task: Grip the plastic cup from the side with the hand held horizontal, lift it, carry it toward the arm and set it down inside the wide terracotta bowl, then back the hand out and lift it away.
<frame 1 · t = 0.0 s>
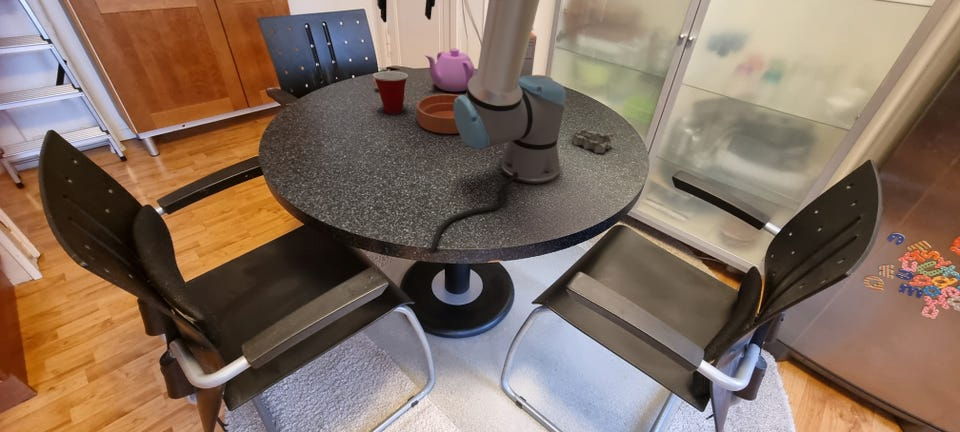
hand: (406, 18, 108), 28 cm above the table, tool tilted 20°, fingers open, 13 cm apart
bowl: (448, 121, 119), on the table
coffee mug: (536, 106, 134), on the table
teapot: (449, 88, 144), on the table
plastic cup: (394, 110, 124), on the table
garlic bulb: (383, 90, 139), on the table
egg carton: (589, 145, 111), on the table
cracker box: (517, 89, 147), on the table
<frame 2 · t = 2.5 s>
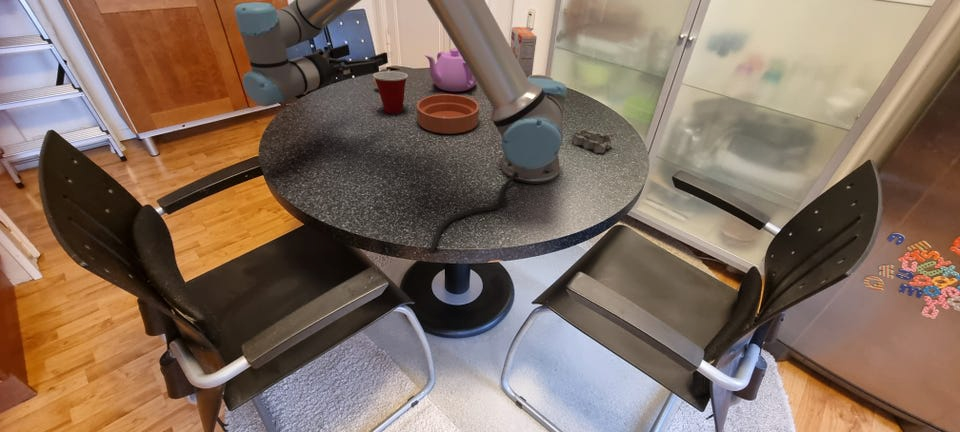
hand: (367, 53, 105), 20 cm above the table, tool horizontal, fingers open, 13 cm apart
nothing on the table moved.
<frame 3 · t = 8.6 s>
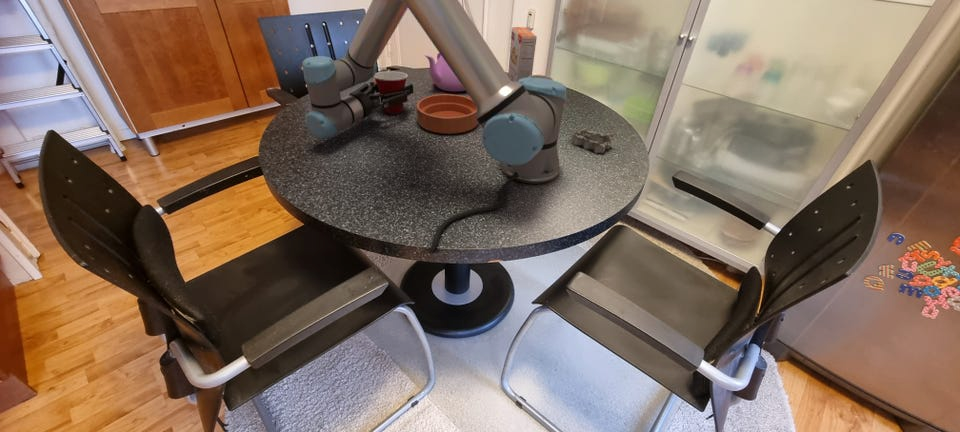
hand: (400, 85, 123), 7 cm above the table, tool horizontal, fingers closed on plastic cup, 9 cm apart
plastic cup: (394, 110, 124), on the table, touching gripper
everything else where it was.
when the fingers open (8 cm above the table, at t = 17.8 s): plastic cup stays where it is, resting on bowl.
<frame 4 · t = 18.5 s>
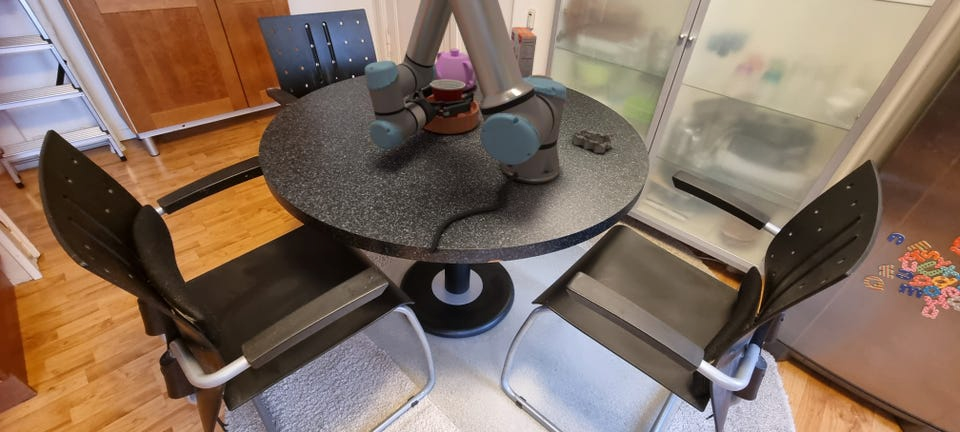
hand: (453, 92, 116), 9 cm above the table, tool horizontal, fingers open, 13 cm apart
plastic cup: (447, 120, 119), resting on bowl
everything else where it was.
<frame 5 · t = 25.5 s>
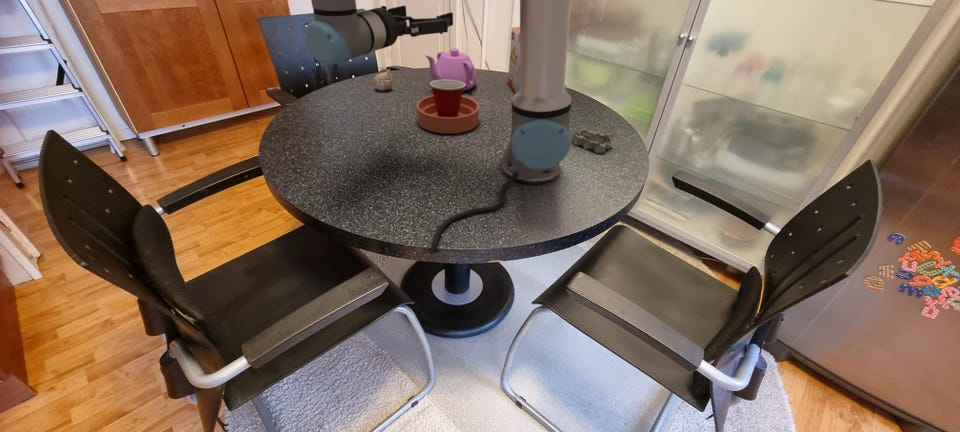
hand: (427, 15, 92), 32 cm above the table, tool horizontal, fingers open, 13 cm apart
nothing on the table moved.
at the end: plastic cup 0.1 cm from the bowl (horizontally); plastic cup tilted 0°; plastic cup touching bowl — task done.
